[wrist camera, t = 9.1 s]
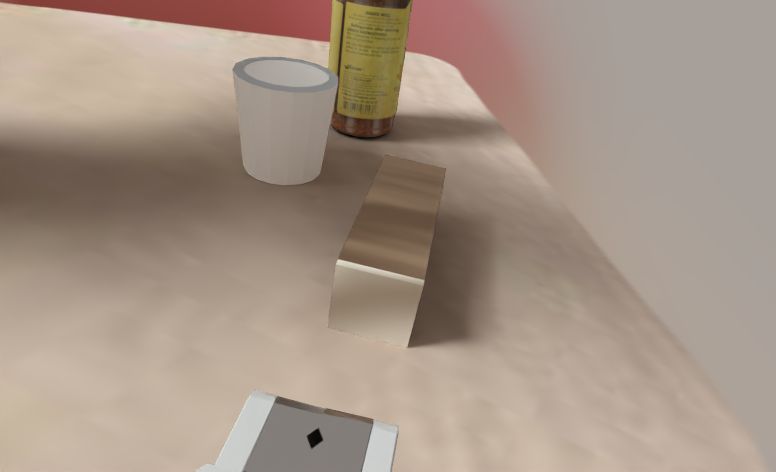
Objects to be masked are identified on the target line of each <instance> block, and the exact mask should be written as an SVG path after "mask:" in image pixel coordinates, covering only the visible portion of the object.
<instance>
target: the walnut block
mask: <svg viewBox="0 0 776 472" xmlns="http://www.w3.org/2000/svg"><path fill="white" fill-rule="evenodd" d="M445 172H446V169H445V168H441V167H437V166H432V165H428V164H423V163H419V162H415V161H410V160H406V159H402V158H397V157H393V156H389V155H385V156H384V158H383V161H382V163H381V165H380V167H379V170H378V172H377V174H376V176H375V178H374V181H373V183H372V185H371V187H370V189H369V192H368V194H367V196H366V198H365V201H364V203H363V205H362V207H361V209H360V212H359V214H358V216H357V218H356V220H355V223H354V225H353V227H352V229H351V232H350V234H349V236H348V238H347V240H346V243H345V245H344V247H343V249H342V251H341V254H340V256H339V258H338V260H337V263H336V266H335V273H334V281H333V289H332V297H331V304H330V312H329V320H328V328H330V329H334V330H338V331H342V332H346V333H350V334H354V335H358V336H362V337H366V338H370V339H374V340H378V341H382V342H386V343H390V344H394V345H398V346H402V347H406V348H407V346H408V343H409V339H410V335H411V331H412V328H413V324H414V320H415V316H416V313H417V309H418V305H419V301H420V297H421V294H422V290H423V286H424V281H425V276H426V271H427V266H428V260H429V255H430V250H431V245H432V240H433V234H434V229H435V224H436V219H437V214H438V209H439V203H440V198H441V193H442V188H443V183H444V177H445Z"/></svg>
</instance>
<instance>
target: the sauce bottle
mask: <svg viewBox="0 0 776 472" xmlns="http://www.w3.org/2000/svg"><path fill="white" fill-rule="evenodd" d="M411 6H412V0H333V3H332V20H331V36H330V51H329V68H328V69H329V70H331V71H332V72H333V73H334V74H335V75H336V76H337V77H338V87H337V92H336V97H335V102H334V107H333V112H332V117H331V122H330V125H332V126H333V127H334V128H335V129H336V130H338V131H340V132H342V133H345V134H348V135H352V136H358V137H376V136H380V135H384V134H387V133H388V132H390V130H391V128H392V126H393V122H394V117H395V113H396V111H397V105H398V97H399V91H400V84H401V77H402V70H403V64H404V58H405V50H406V41H407V36H408V29H409V20H410V13H411Z"/></svg>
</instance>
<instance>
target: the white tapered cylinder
mask: <svg viewBox="0 0 776 472" xmlns="http://www.w3.org/2000/svg"><path fill="white" fill-rule="evenodd" d="M233 78H234V87H235V96H236V105H237V114H238V123H239V132H240V142H241V151H242V160H243V166H244V168H245V170H246V172H247V173H248V174H249V175H251V176H252V177H254V178H255V179H257V180H260V181H263V182H267V183H270V184H277V185H297V184H304V183H306V182H309V181H312V180H314V179H315V178H316V177H317V176H318V175H319V174H320V172H321V167H322V162H323V157H324V152H325V147H326V142H327V137H328V132H329V127H330V122H331V117H332V112H333V107H334V102H335V97H336V92H337V87H338V77H337V76H336V75H335V74H334V73H333V72H332V71H331V70H329V69H327V68H325V67H322V66H320V65H318V64H314V63H311V62H307V61H303V60H298V59H291V58H284V57H258V58H250V59H246V60H243V61H241V62H238V63H236V65H235V66H234V68H233Z"/></svg>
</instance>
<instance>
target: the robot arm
mask: <svg viewBox="0 0 776 472" xmlns="http://www.w3.org/2000/svg"><path fill="white" fill-rule="evenodd" d="M372 424H373V425H372ZM371 429H372V430H371ZM398 432H399V430H398V426H397V425H393V424H388V423H384V422H379V421H375V420H374V421H373V419H371V418H366V417H362V416H358V415H353V414H349V413H345V412H340V411H336V410H332V409H327V408H326V409H324V408H321V407H317V406H313V405H309V404H305V403H302V402H298V401H294V400H290V399H286V398H283V397H279V396H276V395H272V394H268V393H264V392H260V391H256V390H254V391H253V392H252V394H251V395H250V396H249V397H248V399H247V401H246V403H245V405H244V407H243V409H242V411H241V413H240V415H239V417H238V419H237V421H236V423H235V425H234V427H233V429H232V431H231V433H230V435H229V437H228V439H227V441H226V443H225V445H224V447H223V449H222V451H221V453H220V455H219V457H218V459H217V461H216V463H215V465H214V464H210V463H207V464H205V465H204V466H202V467H201V468H199V469H198V470H197V471H195V472H392V466H393V460H394V455H395V449H396V444H397V438H398Z"/></svg>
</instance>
